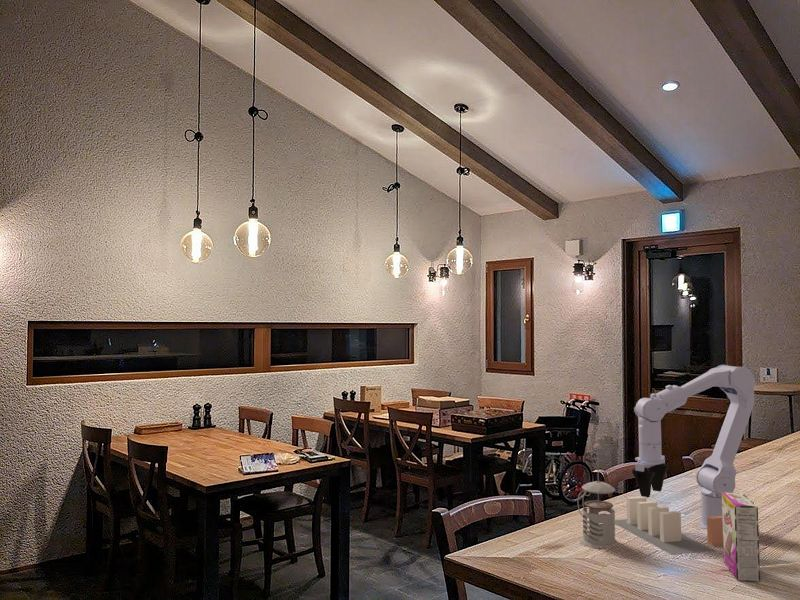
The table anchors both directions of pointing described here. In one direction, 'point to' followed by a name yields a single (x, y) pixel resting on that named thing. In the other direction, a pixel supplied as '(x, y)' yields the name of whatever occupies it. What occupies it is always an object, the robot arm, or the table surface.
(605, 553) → the table surface
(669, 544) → the slate mat
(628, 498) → the domino
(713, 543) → the domino
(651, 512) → the domino
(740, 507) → the candy bar box
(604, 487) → the french press
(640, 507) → the domino
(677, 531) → the domino
